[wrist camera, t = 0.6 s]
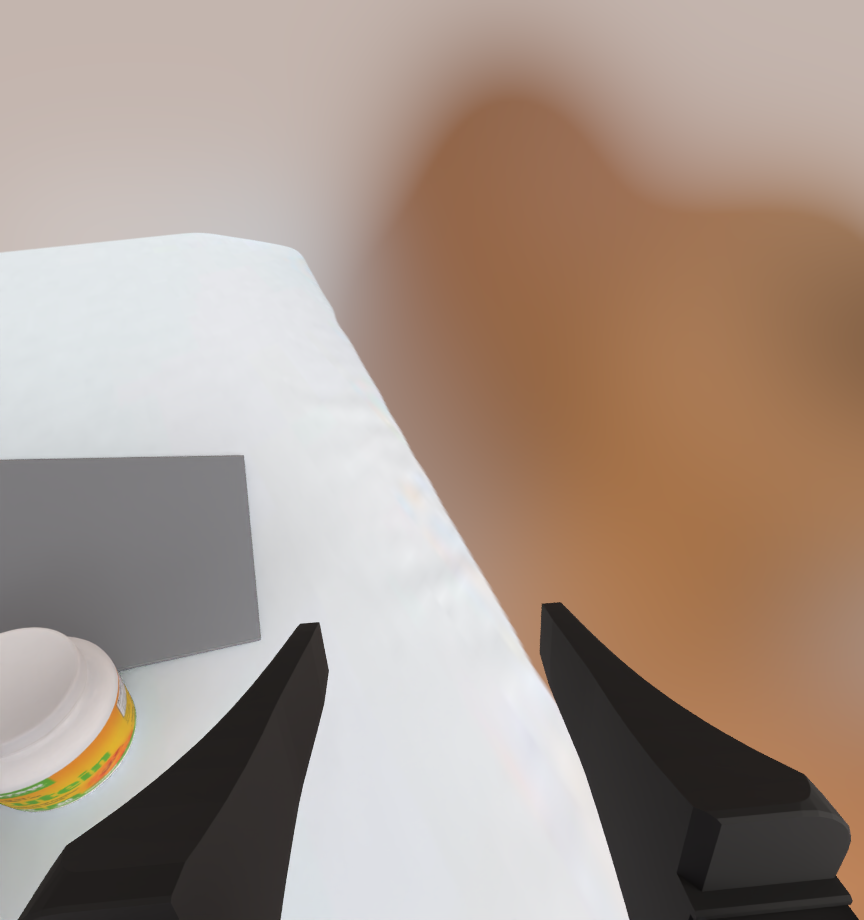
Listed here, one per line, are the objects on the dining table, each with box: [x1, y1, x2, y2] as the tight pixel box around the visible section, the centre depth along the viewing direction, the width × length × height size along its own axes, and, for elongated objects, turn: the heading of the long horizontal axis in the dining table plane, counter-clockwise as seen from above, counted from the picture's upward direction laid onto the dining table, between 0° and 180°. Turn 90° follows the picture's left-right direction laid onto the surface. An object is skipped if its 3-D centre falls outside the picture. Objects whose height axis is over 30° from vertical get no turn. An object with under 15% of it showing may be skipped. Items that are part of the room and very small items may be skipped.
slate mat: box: [0, 455, 261, 671], centre depth 27 cm, size 16×18×1 cm
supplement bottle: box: [0, 627, 137, 812], centre depth 17 cm, size 5×5×10 cm
